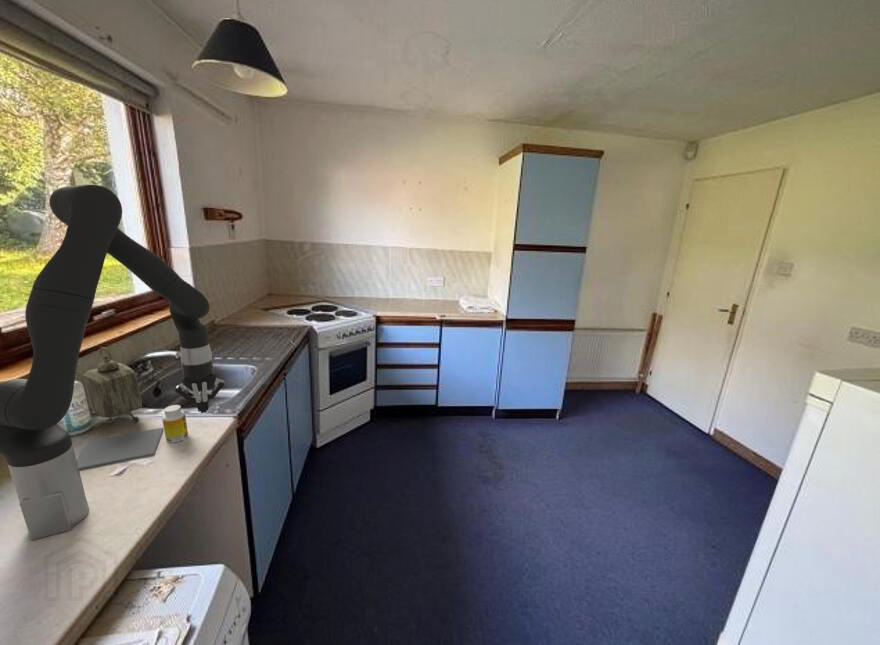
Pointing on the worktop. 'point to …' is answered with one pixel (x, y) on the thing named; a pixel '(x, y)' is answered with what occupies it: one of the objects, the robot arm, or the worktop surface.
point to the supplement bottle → (174, 424)
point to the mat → (119, 448)
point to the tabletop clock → (112, 389)
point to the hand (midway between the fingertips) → (204, 411)
